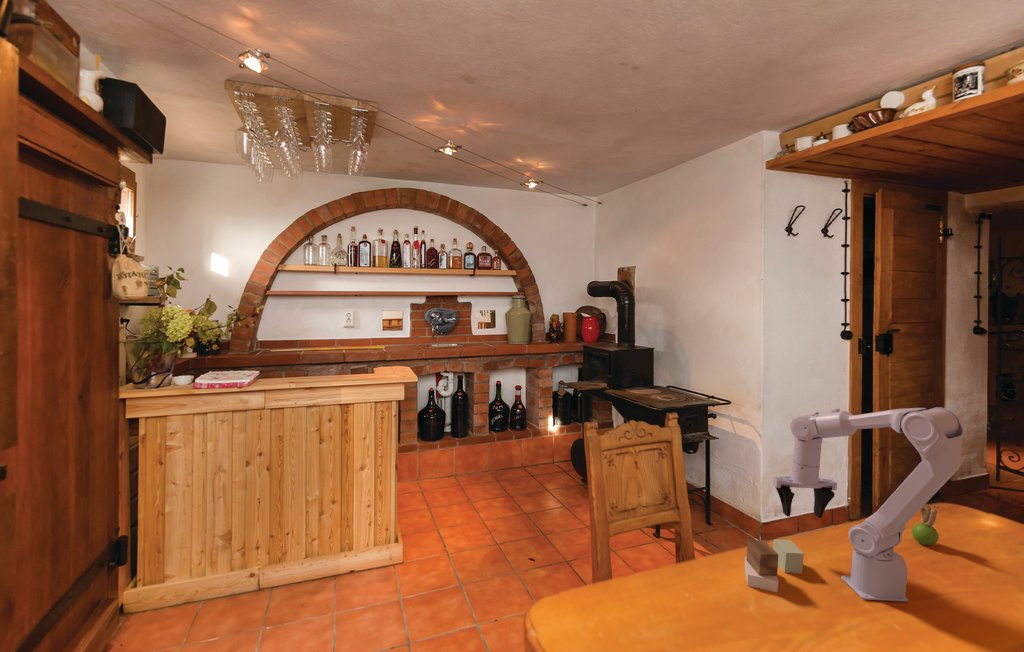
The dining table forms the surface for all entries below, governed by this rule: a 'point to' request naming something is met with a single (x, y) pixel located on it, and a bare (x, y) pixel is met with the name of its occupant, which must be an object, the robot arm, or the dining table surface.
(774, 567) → the walnut brick
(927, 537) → the green egg with ears
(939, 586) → the dining table surface
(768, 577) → the pale grey brick
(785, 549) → the sage brick
